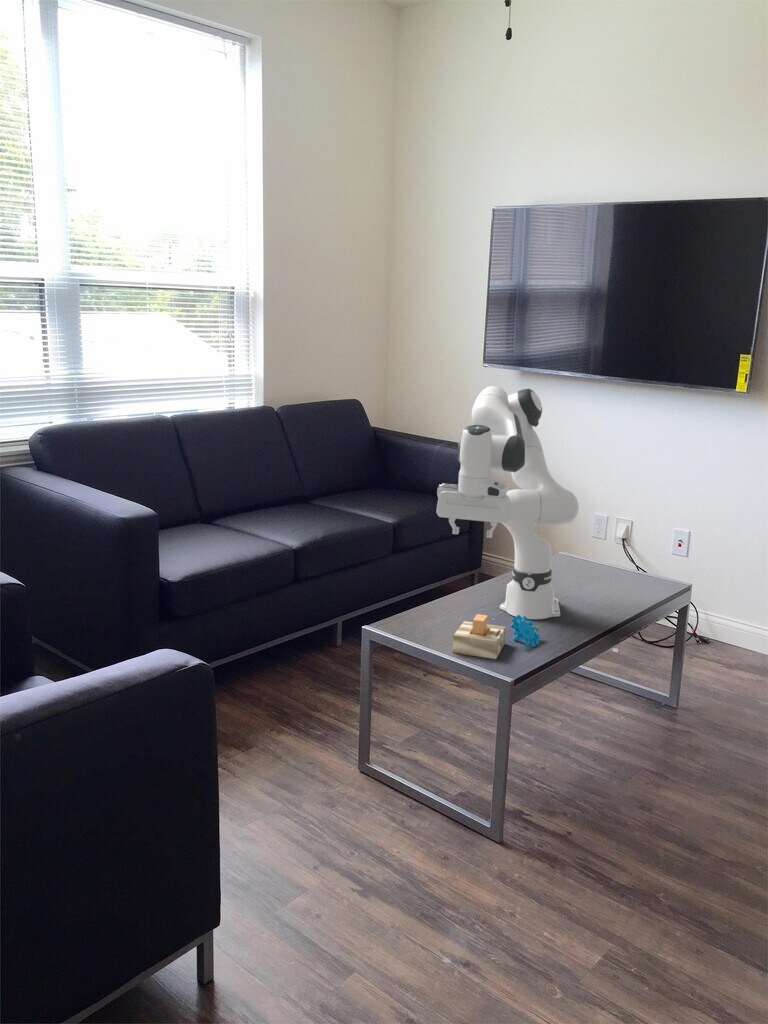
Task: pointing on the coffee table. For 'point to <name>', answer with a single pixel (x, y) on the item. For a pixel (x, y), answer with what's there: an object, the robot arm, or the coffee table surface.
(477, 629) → the key peg
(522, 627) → the gear
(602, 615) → the coffee table surface
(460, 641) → the block
